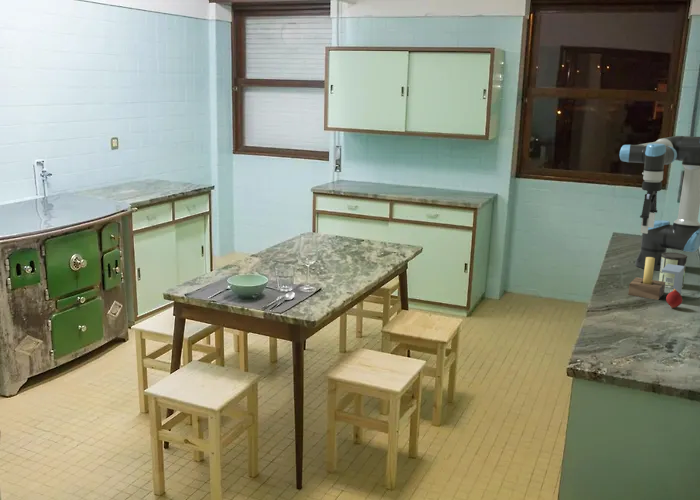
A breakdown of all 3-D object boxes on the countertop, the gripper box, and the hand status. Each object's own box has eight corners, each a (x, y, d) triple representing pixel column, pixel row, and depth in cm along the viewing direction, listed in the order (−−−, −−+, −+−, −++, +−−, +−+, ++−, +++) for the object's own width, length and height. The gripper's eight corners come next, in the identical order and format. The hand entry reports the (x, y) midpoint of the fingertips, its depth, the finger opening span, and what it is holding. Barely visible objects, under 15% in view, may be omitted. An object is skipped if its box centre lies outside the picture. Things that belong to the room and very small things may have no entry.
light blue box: (664, 293, 285) (667, 263, 282) (680, 295, 281) (684, 266, 278) (658, 299, 275) (662, 269, 272) (675, 302, 272) (679, 272, 268)
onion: (680, 306, 267) (682, 287, 265) (682, 311, 261) (684, 291, 259) (664, 305, 268) (666, 286, 267) (665, 309, 263) (668, 290, 261)
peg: (651, 293, 284) (655, 257, 280) (649, 295, 281) (654, 259, 277) (642, 292, 286) (646, 256, 282) (640, 294, 283) (644, 258, 279)
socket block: (634, 288, 291) (635, 277, 290) (664, 293, 285) (665, 281, 284) (628, 294, 282) (629, 283, 281) (658, 299, 275) (659, 288, 274)
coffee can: (679, 282, 301) (683, 252, 297) (686, 289, 291) (690, 258, 287) (655, 281, 303) (659, 251, 299) (661, 287, 293) (664, 257, 289)
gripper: (648, 176, 288) (643, 224, 293) (636, 183, 268) (631, 234, 273) (667, 177, 284) (661, 225, 289) (656, 185, 264) (651, 236, 269)
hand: (647, 230), depth 281 cm, fingers open, 13 cm apart
